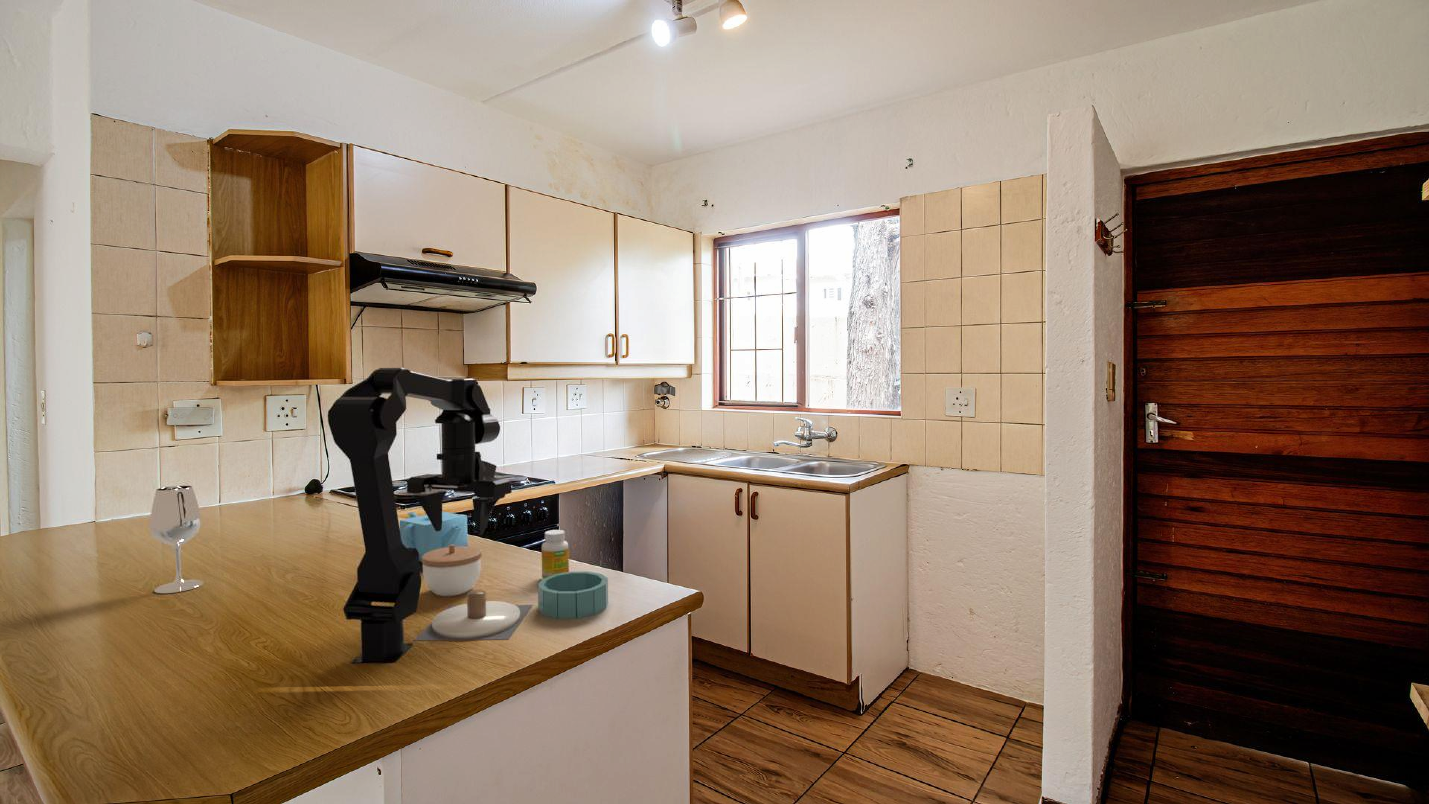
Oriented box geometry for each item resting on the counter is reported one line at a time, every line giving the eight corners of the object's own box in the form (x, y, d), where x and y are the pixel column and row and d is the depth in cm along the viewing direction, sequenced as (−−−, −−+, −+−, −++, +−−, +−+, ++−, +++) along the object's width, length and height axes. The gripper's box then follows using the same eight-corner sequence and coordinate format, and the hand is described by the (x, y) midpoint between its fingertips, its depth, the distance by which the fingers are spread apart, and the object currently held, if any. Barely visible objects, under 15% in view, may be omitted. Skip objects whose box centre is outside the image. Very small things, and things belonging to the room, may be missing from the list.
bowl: (602, 621, 113) (601, 592, 112) (531, 622, 112) (531, 593, 112) (611, 597, 125) (611, 571, 124) (548, 597, 124) (547, 571, 124)
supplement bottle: (555, 584, 132) (554, 536, 131) (536, 579, 135) (535, 533, 134) (574, 577, 136) (573, 530, 136) (555, 572, 139) (555, 527, 139)
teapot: (428, 575, 138) (426, 522, 137) (378, 562, 147) (376, 512, 147) (489, 556, 151) (488, 508, 151) (440, 545, 161) (438, 500, 160)
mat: (508, 642, 104) (508, 639, 104) (413, 643, 104) (413, 640, 104) (532, 607, 119) (532, 604, 119) (449, 608, 119) (449, 605, 119)
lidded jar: (462, 604, 121) (460, 554, 120) (410, 600, 123) (408, 551, 122) (492, 585, 131) (491, 539, 131) (444, 582, 133) (443, 536, 133)
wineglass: (145, 590, 129) (140, 489, 128) (192, 578, 136) (187, 483, 135) (165, 596, 125) (160, 493, 124) (211, 584, 132) (207, 486, 131)
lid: (506, 638, 104) (505, 607, 104) (417, 639, 104) (416, 608, 104) (529, 606, 118) (528, 578, 118) (451, 607, 118) (450, 579, 118)
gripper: (528, 444, 124) (529, 526, 125) (446, 442, 130) (447, 520, 130) (491, 450, 114) (492, 540, 114) (404, 447, 119) (405, 532, 119)
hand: (459, 532), depth 120 cm, fingers open, 9 cm apart
